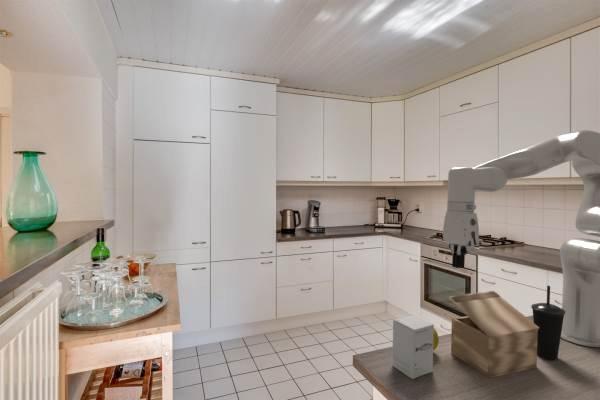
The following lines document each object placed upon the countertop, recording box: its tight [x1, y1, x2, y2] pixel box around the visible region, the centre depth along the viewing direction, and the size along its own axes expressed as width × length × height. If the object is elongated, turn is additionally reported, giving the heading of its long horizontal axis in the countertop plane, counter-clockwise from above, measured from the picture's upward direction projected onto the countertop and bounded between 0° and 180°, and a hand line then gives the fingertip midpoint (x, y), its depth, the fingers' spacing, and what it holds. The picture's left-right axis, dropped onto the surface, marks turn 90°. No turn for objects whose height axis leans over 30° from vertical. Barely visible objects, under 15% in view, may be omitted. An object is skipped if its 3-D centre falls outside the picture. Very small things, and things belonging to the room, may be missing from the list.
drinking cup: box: [530, 285, 566, 361], centre depth 91 cm, size 8×8×20 cm
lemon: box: [433, 328, 440, 351], centre depth 93 cm, size 6×6×8 cm
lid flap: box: [448, 290, 539, 338], centre depth 89 cm, size 17×15×1 cm
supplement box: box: [391, 315, 435, 380], centre depth 84 cm, size 7×7×13 cm
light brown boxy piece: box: [450, 315, 538, 379], centre depth 89 cm, size 16×13×10 cm
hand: (458, 267), depth 100 cm, fingers closed
